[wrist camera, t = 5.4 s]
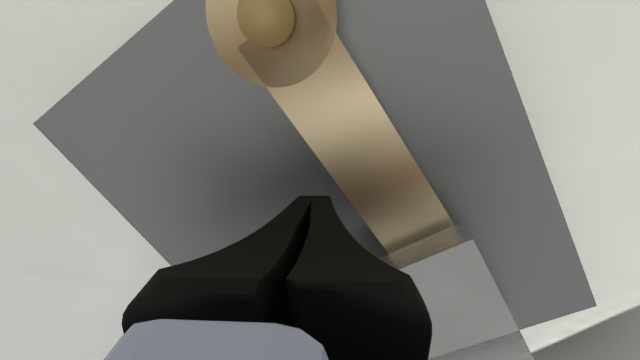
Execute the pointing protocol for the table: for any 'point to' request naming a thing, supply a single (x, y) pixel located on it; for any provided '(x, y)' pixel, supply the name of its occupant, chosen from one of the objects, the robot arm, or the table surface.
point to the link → (330, 109)
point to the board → (298, 158)
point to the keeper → (460, 298)
